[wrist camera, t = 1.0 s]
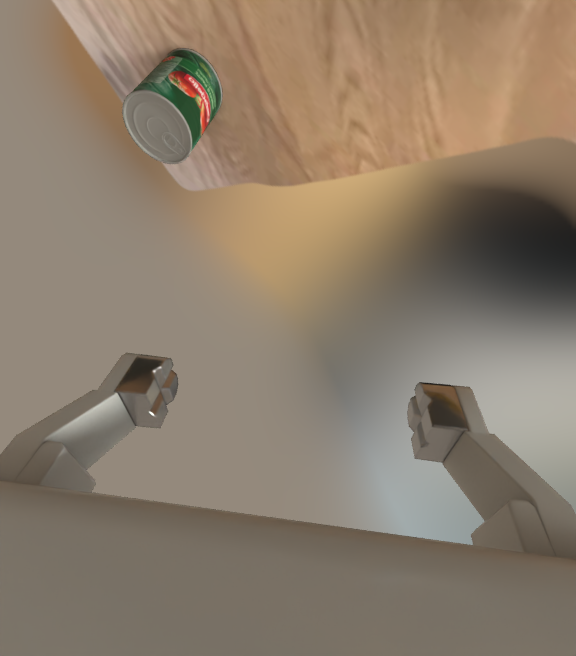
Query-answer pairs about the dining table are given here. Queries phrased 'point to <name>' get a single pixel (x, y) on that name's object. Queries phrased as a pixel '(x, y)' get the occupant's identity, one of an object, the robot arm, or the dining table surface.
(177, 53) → the canned tomato
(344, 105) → the dining table surface
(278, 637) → the robot arm
